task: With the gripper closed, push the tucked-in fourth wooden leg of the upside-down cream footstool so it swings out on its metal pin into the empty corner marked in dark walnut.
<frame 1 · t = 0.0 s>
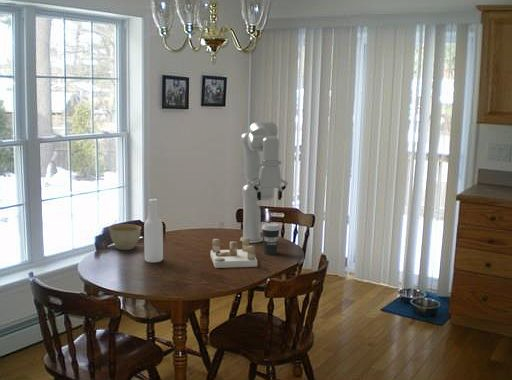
hand: (269, 199, 278), 31 cm above the table, tool pointing down, fingers open, 9 cm apart
fixed legs: (233, 249, 285), on the footstool seat, point 6 cm above the table
swing leg: (226, 248, 284), point 6 cm above the table, hinge at 90.0°
planter bowl: (125, 248, 307), on the table
footstool seat: (233, 261, 286), on the table
coffee cup: (270, 253, 302), on the table
alcohol: (153, 260, 285), on the table
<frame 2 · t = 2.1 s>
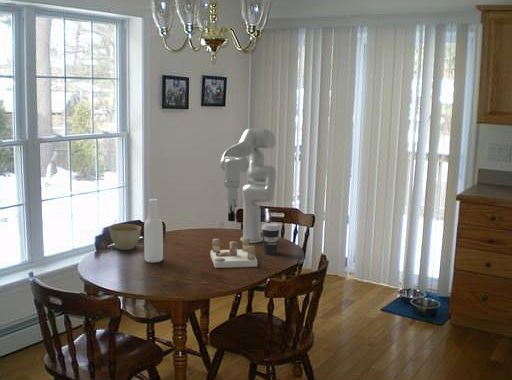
hand: (231, 220, 290), 19 cm above the table, tool pointing down, fingers closed
nothing on the table moved.
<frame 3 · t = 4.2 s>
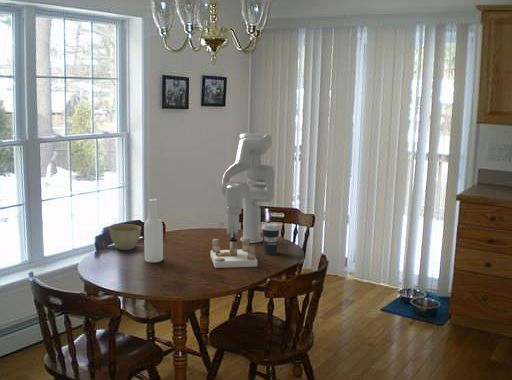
hand: (233, 246, 289), 6 cm above the table, tool pointing down, fingers closed
swing leg: (226, 248, 284), point 6 cm above the table, hinge at 85.8°, touching gripper
everything else where it was.
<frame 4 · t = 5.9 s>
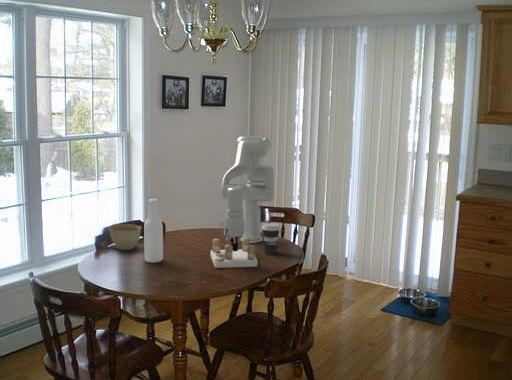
hand: (234, 250, 282), 6 cm above the table, tool pointing down, fingers closed
swing leg: (223, 250, 281), point 6 cm above the table, hinge at 35.6°, touching gripper
everything else where it was.
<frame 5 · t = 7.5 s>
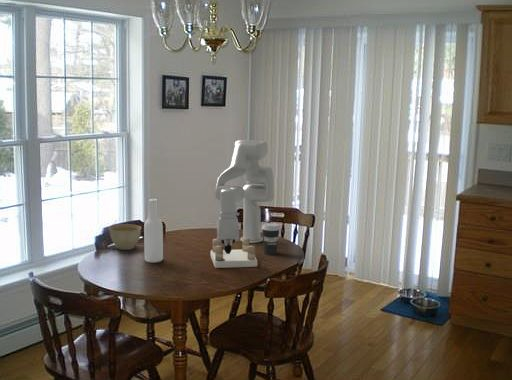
hand: (227, 253, 277), 6 cm above the table, tool pointing down, fingers closed
swing leg: (218, 251, 280), point 6 cm above the table, hinge at -2.6°, touching gripper
everything else where it was.
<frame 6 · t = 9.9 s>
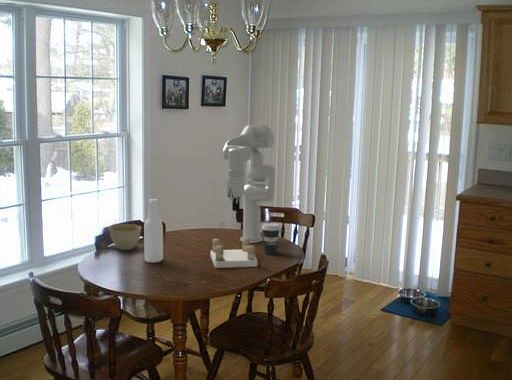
hand: (236, 210, 287), 24 cm above the table, tool pointing down, fingers closed
swing leg: (218, 251, 280), point 6 cm above the table, hinge at -1.3°
everything else where it was.
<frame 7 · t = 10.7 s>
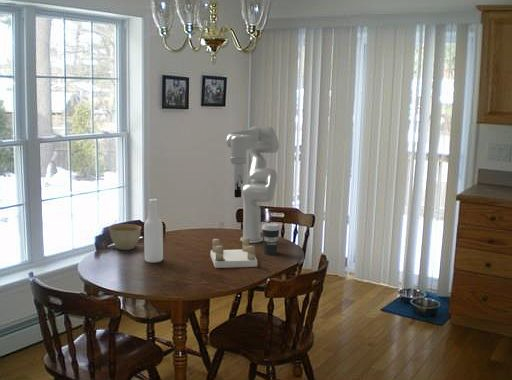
hand: (237, 197, 296), 29 cm above the table, tool pointing down, fingers closed
nothing on the table moved.
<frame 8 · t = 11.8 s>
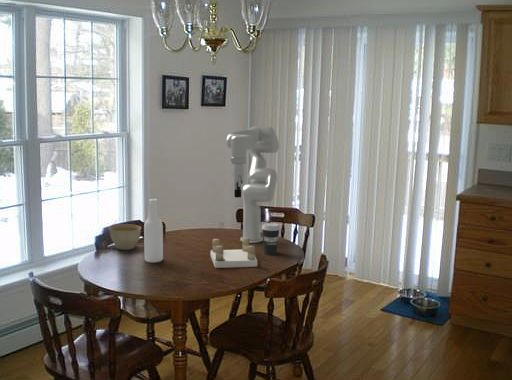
hand: (237, 197, 296), 29 cm above the table, tool pointing down, fingers closed
nothing on the table moved.
at the end: swing leg at -1° (first picture: +90°); coffee cup moved 0.2 cm from its start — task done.
